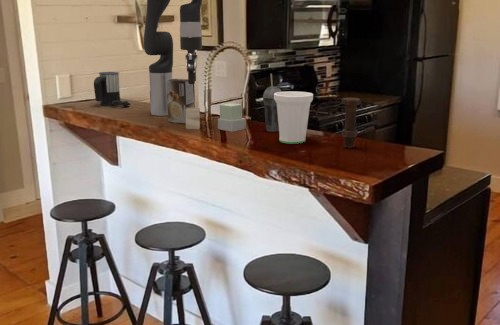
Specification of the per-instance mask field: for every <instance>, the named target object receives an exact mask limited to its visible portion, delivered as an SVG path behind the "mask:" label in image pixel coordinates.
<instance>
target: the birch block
mask: <svg viewBox="0 0 500 325" xmlns="http://www.w3.org/2000/svg"><path fill="white" fill-rule="evenodd" d="M185 111H186V123H185V130H200V129H201V112H200V111H201V110H200V107H195V108H186V110H185Z"/></svg>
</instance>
